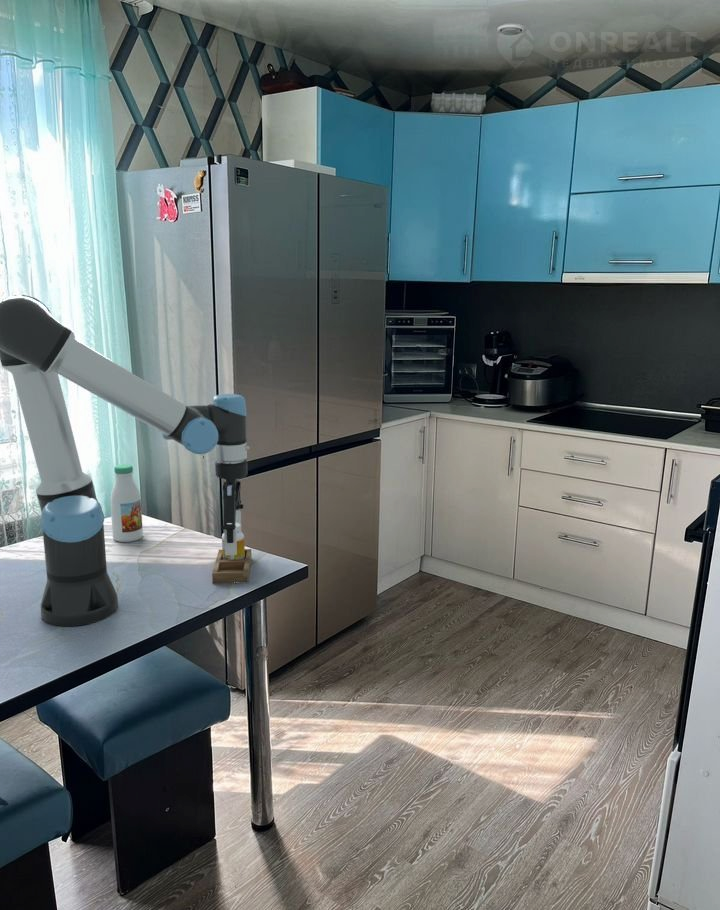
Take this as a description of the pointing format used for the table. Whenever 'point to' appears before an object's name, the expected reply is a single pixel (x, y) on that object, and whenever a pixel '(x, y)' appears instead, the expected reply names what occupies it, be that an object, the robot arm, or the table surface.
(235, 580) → the compartment tray
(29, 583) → the table surface
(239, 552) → the supplement bottle
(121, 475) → the milk bottle
